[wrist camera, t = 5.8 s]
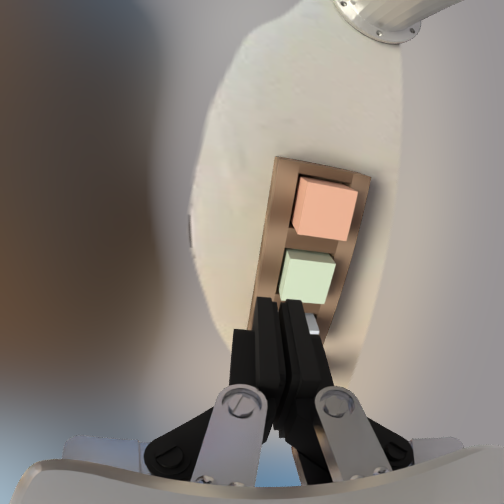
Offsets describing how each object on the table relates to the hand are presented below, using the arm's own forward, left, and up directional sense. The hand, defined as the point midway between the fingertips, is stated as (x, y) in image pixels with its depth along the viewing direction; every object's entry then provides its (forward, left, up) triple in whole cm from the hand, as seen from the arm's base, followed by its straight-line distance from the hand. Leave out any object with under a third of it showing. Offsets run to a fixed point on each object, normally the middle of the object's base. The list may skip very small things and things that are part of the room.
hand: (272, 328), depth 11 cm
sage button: (+7, +7, -22) cm, 24 cm away
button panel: (+7, +7, -23) cm, 25 cm away
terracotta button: (-1, +7, -21) cm, 22 cm away
